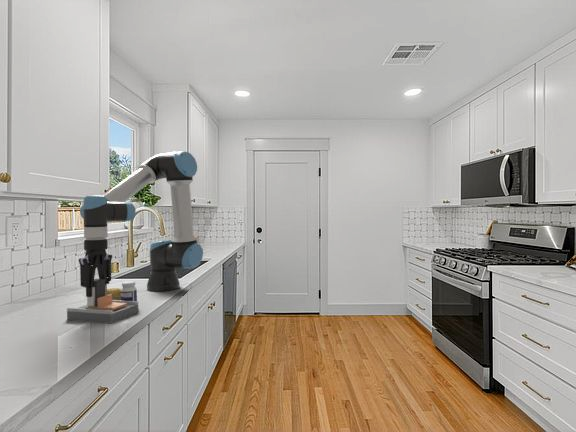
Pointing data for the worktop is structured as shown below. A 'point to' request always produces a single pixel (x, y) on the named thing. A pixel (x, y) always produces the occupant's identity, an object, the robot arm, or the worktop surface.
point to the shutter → (108, 303)
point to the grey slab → (102, 313)
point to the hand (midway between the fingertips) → (96, 303)
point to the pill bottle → (129, 291)
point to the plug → (98, 291)
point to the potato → (114, 293)
